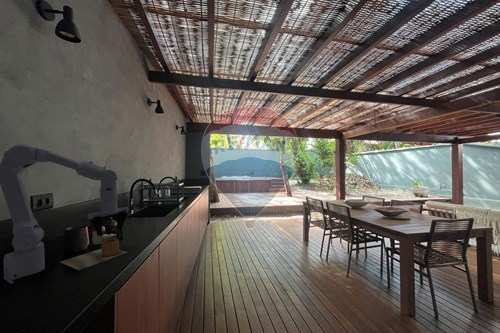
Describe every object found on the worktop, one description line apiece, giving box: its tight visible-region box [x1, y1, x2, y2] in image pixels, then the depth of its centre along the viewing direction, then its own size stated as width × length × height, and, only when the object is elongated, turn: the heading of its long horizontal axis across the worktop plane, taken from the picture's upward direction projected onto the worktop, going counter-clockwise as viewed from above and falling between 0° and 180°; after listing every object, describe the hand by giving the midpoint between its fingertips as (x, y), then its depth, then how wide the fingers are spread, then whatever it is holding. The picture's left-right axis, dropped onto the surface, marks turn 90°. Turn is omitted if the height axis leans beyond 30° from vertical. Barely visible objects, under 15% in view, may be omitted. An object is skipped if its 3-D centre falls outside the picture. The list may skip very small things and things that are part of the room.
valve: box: [91, 230, 124, 245], centre depth 104 cm, size 7×7×12 cm
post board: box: [60, 242, 128, 271], centre depth 85 cm, size 17×15×6 cm
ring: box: [101, 238, 120, 256], centre depth 88 cm, size 6×6×5 cm
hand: (110, 233), depth 88 cm, fingers open, 7 cm apart
